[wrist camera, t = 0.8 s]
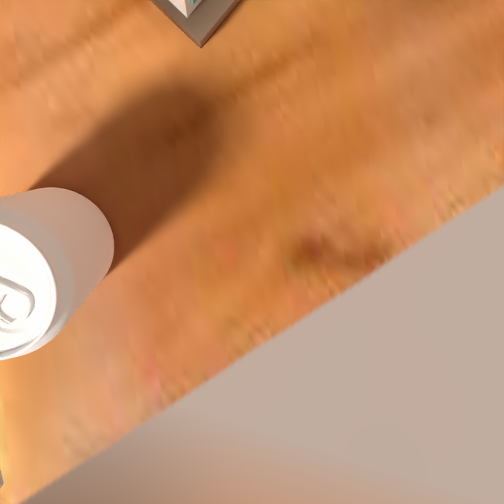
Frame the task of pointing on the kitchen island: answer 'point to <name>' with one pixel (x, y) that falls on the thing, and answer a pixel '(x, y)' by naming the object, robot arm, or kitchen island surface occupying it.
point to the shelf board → (199, 17)
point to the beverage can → (47, 264)
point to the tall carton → (185, 6)
